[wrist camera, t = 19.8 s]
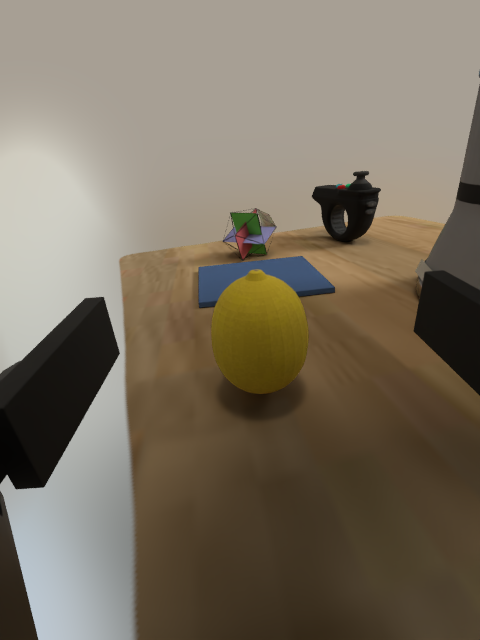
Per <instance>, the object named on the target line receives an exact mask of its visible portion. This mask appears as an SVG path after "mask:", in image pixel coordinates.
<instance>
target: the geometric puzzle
mask: <svg viewBox="0 0 480 640" xmlns="http://www.w3.org/2000/svg"><path fill="white" fill-rule="evenodd" d="M257 212H258V213H257ZM230 214H231V217H232V218H231V219H233V221H232V223H233V222H234V226H235V227H233V229H232V230H231V232H230V233H229V234H228V235H227V236H226V238H225V239H224V240H223V241H222V242H224V241H226V242H237V245H238V248H239V252H240V255H241V258H242V259H241V258H240V257H239V256H238V255H237V254H236V255H237V256H238V257H239V258H240V259H241V260H242V261H243V260H244V259H245V258H244V257H245V256H246V255H247V253H251V254H252V253H254V254H265V255H267V253H268V252H266V248H265V243H266V241H267V240H268V238H269V237H270V236H271V234H272V233H273V231H274V230H275V228H276V226H275V224H274V222H273V221H272V219H271V217H270V215H269V214H267V213H264V212H262V211H260V210H258V209H257V208H255V210H254V212H253V213H230ZM258 215H259V216H260V218H261V226H260V222H259V218H258ZM226 242H225V243H226ZM226 244H227V243H226ZM270 244H271V243H270ZM228 245H229V244H228ZM230 246H231V245H230ZM232 247H233V246H232ZM269 247H270V246H269ZM235 249H236V248H235ZM237 250H238V249H237ZM268 250H269V249H268ZM251 254H250V255H251ZM248 256H249V255H248ZM248 256H247V257H248ZM262 256H263V255H262ZM247 257H246V258H247ZM258 257H259V256H258ZM245 260H246V259H245Z"/></svg>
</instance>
